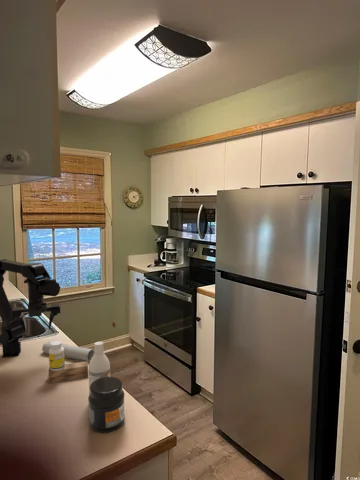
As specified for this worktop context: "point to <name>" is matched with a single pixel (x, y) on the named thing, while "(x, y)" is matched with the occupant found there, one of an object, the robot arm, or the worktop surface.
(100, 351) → the bath foam
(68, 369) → the ridge
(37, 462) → the worktop surface
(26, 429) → the worktop surface
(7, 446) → the worktop surface
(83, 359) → the tube
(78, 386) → the worktop surface
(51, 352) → the supplement bottle
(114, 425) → the supplement container
